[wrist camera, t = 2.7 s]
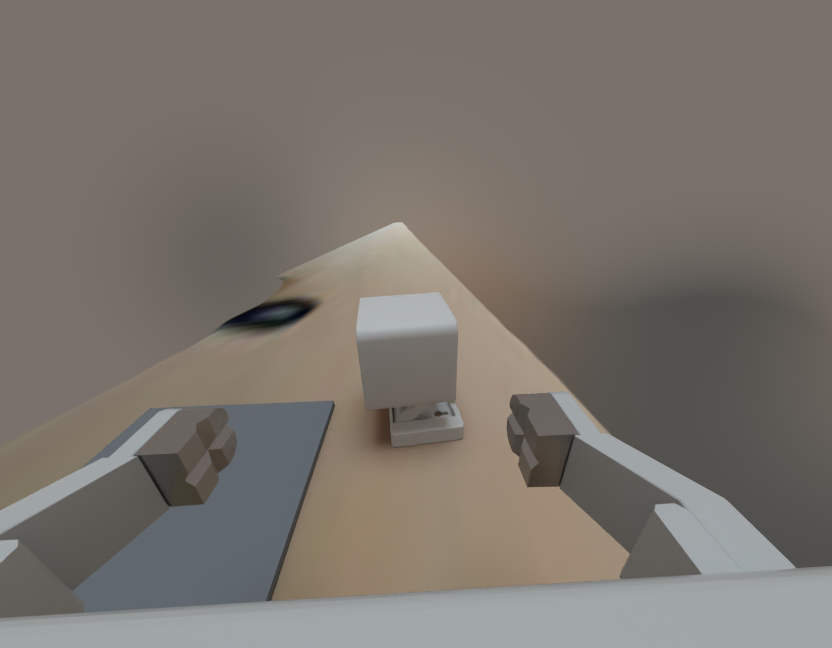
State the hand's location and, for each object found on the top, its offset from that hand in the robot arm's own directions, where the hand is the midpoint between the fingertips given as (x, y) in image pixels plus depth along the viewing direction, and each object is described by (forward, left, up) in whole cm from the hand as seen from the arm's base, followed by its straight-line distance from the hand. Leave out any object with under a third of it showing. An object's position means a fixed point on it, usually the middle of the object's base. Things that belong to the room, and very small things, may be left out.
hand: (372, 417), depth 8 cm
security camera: (+12, -1, -12) cm, 17 cm away
